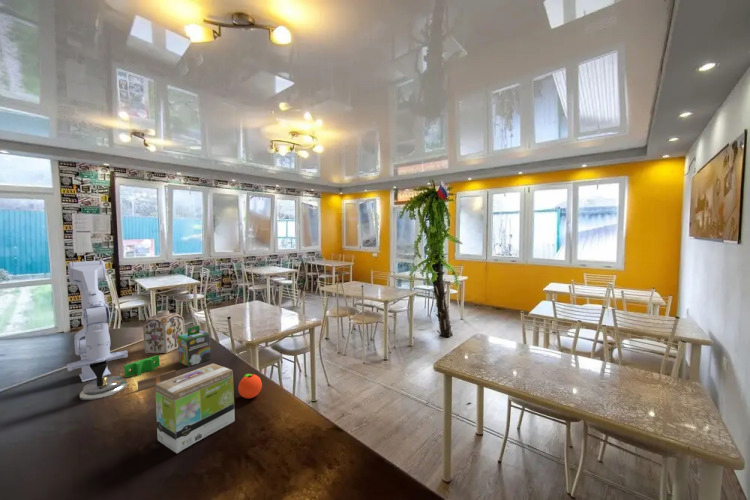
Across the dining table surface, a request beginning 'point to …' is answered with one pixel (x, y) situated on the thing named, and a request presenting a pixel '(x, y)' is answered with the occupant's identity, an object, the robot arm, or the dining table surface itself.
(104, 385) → the index disc
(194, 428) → the tea box
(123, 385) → the base plate
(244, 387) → the clementine
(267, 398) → the dining table surface
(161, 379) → the bar
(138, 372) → the pipe clamp
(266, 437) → the dining table surface
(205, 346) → the chalk box
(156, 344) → the decorative jar
